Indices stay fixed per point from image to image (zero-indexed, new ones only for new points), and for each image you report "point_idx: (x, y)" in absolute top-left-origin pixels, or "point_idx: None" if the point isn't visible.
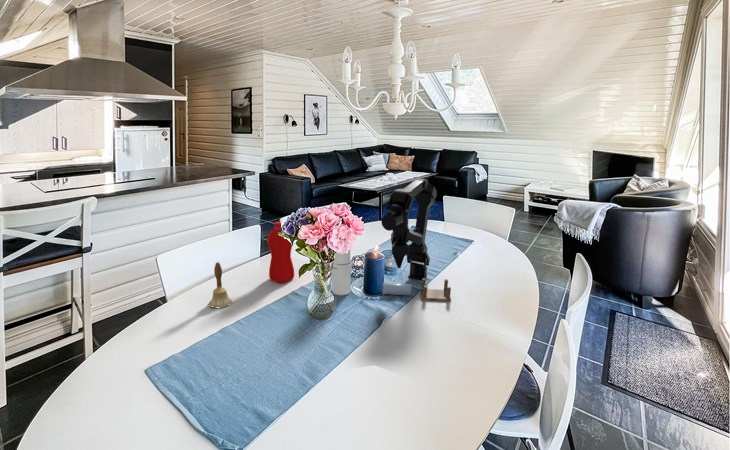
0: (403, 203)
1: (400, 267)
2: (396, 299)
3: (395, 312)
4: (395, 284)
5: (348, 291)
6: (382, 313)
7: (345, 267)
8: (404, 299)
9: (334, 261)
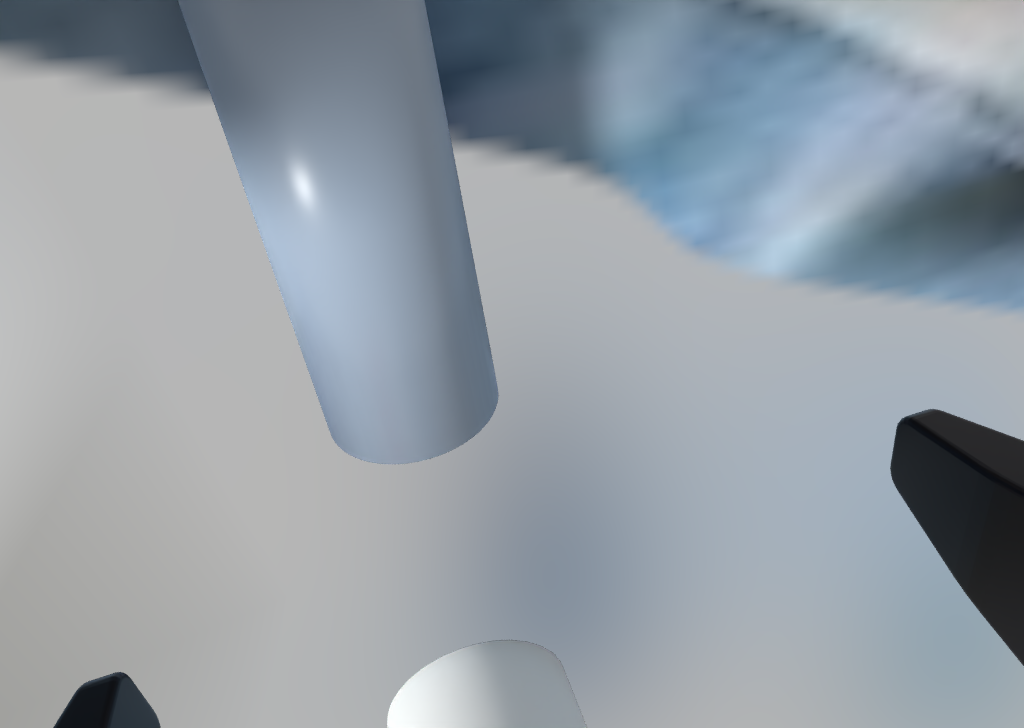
0: None
1: (946, 421)
2: (537, 136)
3: (898, 68)
4: (399, 275)
5: (521, 660)
6: (910, 213)
7: None
8: (509, 9)
9: None
